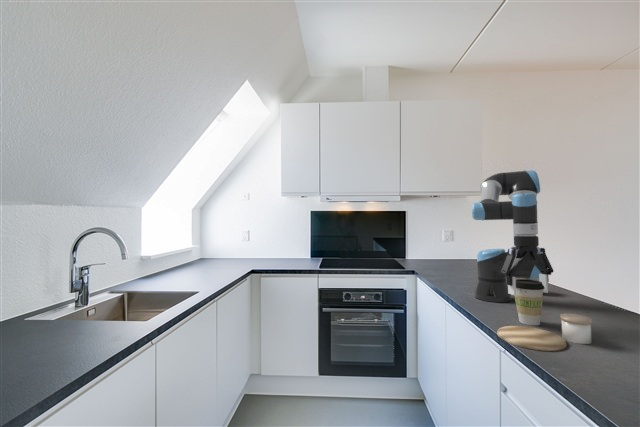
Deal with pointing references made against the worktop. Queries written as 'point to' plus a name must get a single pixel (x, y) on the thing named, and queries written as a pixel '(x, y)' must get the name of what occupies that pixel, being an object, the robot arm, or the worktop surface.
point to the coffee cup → (529, 301)
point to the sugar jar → (576, 328)
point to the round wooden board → (531, 338)
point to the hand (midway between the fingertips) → (528, 293)
